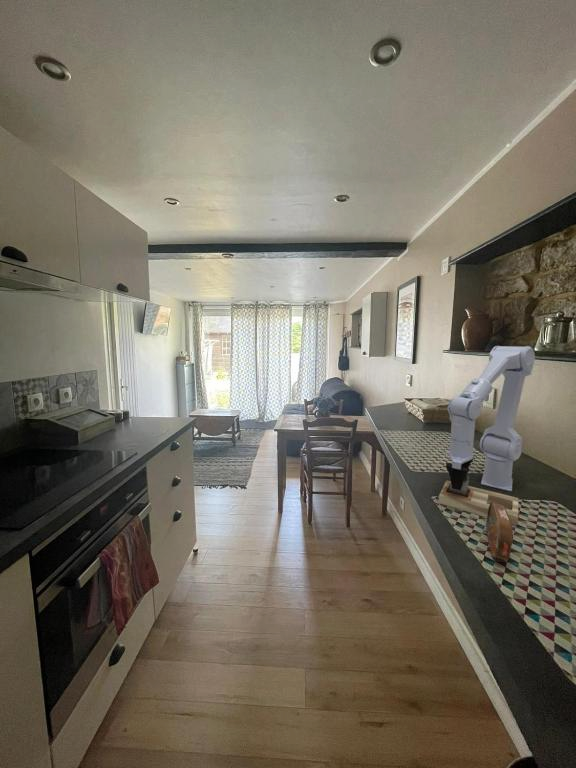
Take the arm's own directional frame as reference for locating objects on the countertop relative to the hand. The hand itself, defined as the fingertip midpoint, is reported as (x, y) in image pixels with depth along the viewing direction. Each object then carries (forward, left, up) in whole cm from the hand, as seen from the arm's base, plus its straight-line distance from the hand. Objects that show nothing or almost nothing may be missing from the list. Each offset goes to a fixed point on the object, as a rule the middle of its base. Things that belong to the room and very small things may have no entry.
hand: (458, 483), depth 88 cm
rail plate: (0, +5, -5) cm, 7 cm away
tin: (+17, +10, -5) cm, 21 cm away
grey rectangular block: (0, 0, -5) cm, 5 cm away
